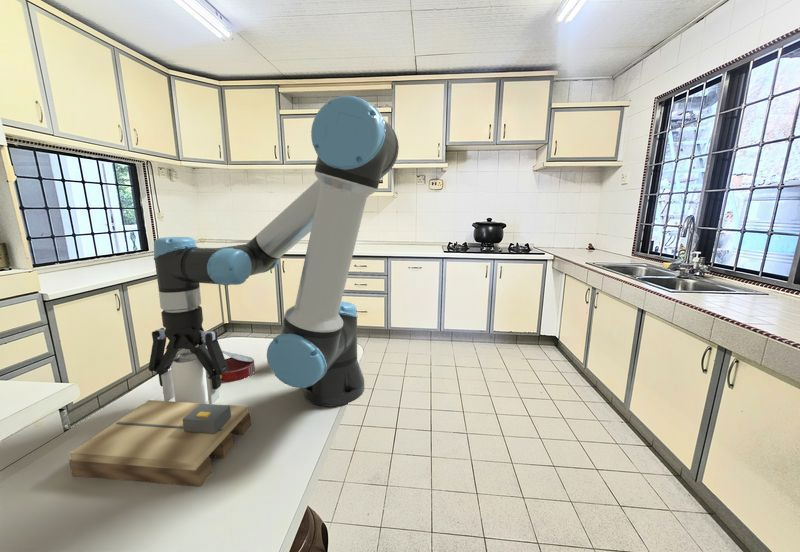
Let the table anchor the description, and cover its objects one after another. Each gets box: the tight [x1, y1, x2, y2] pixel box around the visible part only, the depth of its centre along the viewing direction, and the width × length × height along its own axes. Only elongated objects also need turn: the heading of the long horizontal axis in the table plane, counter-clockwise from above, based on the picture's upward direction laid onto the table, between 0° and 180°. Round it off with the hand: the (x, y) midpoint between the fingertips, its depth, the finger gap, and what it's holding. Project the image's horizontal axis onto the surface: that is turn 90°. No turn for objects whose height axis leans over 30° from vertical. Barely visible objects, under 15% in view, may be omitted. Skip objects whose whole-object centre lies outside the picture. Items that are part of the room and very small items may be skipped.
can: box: [170, 351, 209, 404], centre depth 76 cm, size 6×6×12 cm
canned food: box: [220, 350, 256, 383], centre depth 92 cm, size 11×10×10 cm
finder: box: [183, 403, 231, 434], centre depth 63 cm, size 6×5×3 cm
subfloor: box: [68, 399, 252, 488], centre depth 63 cm, size 23×16×5 cm
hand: (192, 399), depth 77 cm, fingers open, 10 cm apart
